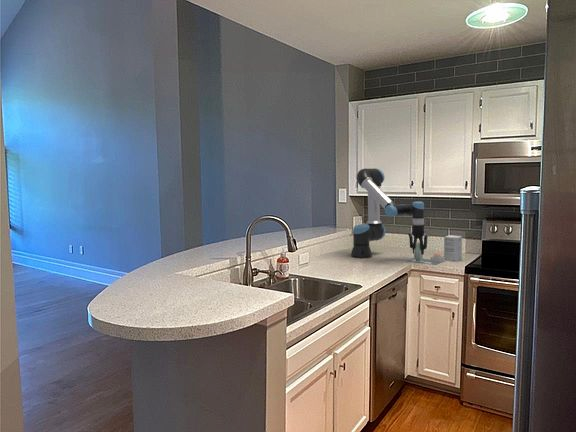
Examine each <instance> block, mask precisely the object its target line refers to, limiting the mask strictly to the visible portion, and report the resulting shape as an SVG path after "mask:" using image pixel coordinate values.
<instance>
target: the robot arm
mask: <svg viewBox="0 0 576 432" xmlns="http://www.w3.org/2000/svg"><path fill="white" fill-rule="evenodd" d="M356 182H357V184H358V185H359V187H361V188H362V189H364V190H365V191H367V211H368V212H367V214H368V217H367V219H368V220H367V221H366V223H362V224H356V225H354V227H353V230H352V235H353V236H352V239H353V244H352V250H351V252H350V257H352V258H357V259H367V258H368V259H369V258H373V254H372V249H371V247H370V242H372V241H374V242H377V241H379V240H382V239H383V238H384V237H385V236H386V228H385V226H384V224H383V222H382V221H381V212H380V211H381V209H380V208H381V207H382V208H383V209H384V213H385V215H386V216H387V217H392V218H393V217H400V216H401V217H402V216H403V217H404V216H411V217H412V232H411V233H408V234H407V235H408V237H409V238H408V239H409V248H410V249H411V250H412V254H413V258H414V259H415V244H416V243H418V240H419V243H420V247H421V250H420V260H421V259H424V254H425V250H426V249H427V248H428V237H429V234H427V233H425V204H424V202H423V201H413V202H412V204H409V203H407V204H406V203H401V204H396V203H395V201H393V200H392V199H391V198H390V197H389V196H388V194H386V193H385V192H384V191H383V190H382V189H381V187H382V183H384V182H385V173H384V172H383V171H382V169H380V168H362V169H359V171H358V172H357V173H356Z"/></svg>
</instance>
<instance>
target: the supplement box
mask: <svg viewBox="0 0 576 432" xmlns="http://www.w3.org/2000/svg"><path fill="white" fill-rule="evenodd" d="M462 249H463V236H462V235H451V234H450V235H446V236H444V238H443V256H444V261H450V262H460V261H462V259H463V258H462V257H463V256H462V255H463V250H462Z"/></svg>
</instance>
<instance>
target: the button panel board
mask: <svg viewBox="0 0 576 432" xmlns="http://www.w3.org/2000/svg"><path fill="white" fill-rule="evenodd" d="M405 262H407V263H414V264H424V265H432V266H437V265H439V264H440V265H441V264H442V263H445V262H446V260H444V255H440V257H434V255H431V256H430V258H423V259H421V261H416V259H414V257H413V258H409V259H408V260H407V259H406V260H404V263H405Z"/></svg>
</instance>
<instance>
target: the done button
mask: <svg viewBox="0 0 576 432" xmlns="http://www.w3.org/2000/svg"><path fill="white" fill-rule="evenodd" d="M433 256H434V257H440V256H441V253H439V252H435V253H434V255H433Z"/></svg>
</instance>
